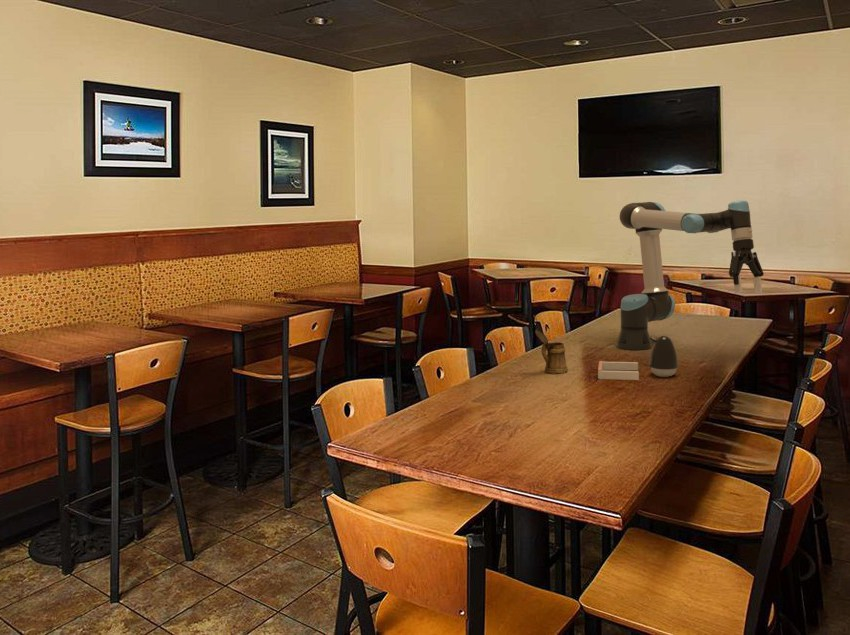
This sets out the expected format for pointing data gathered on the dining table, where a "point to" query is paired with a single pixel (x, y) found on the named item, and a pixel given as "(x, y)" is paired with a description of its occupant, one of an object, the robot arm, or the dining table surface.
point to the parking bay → (618, 374)
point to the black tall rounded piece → (663, 357)
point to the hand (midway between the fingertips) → (748, 293)
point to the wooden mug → (553, 355)
